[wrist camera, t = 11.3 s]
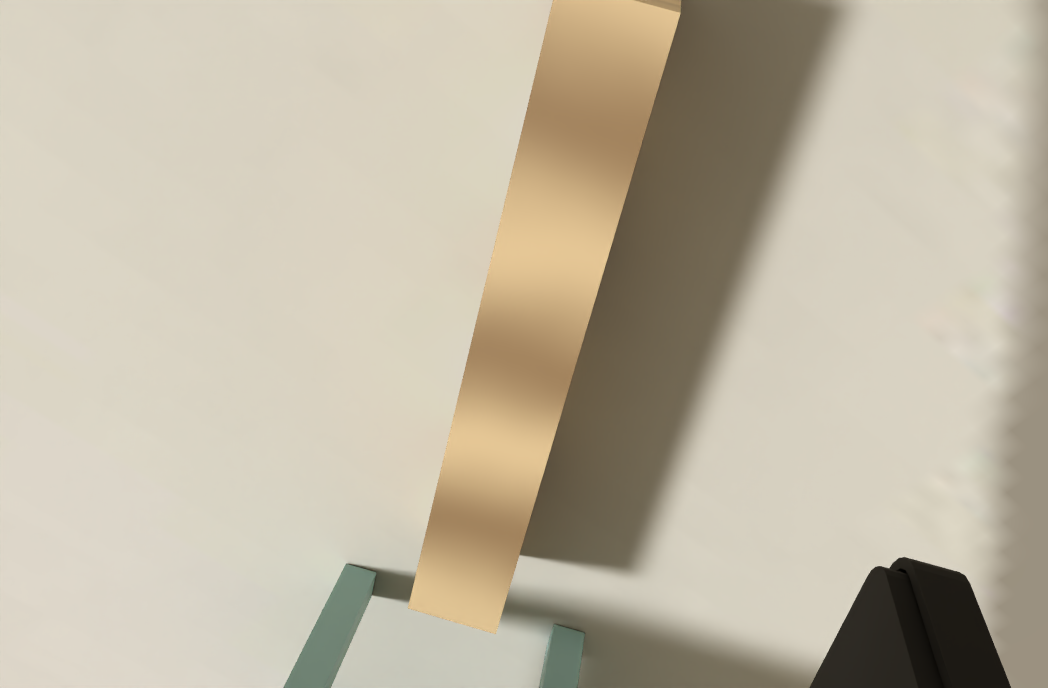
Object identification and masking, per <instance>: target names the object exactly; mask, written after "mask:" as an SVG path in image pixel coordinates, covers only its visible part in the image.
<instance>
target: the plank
mask: <svg viewBox="0 0 1048 688" xmlns="http://www.w3.org/2000/svg"><path fill="white" fill-rule="evenodd" d="M680 14H681V0H553V3H552V7H551V11H550V15H549V19H548V24H547V28H546V32H545V36H544V40H543V45H542V49H541V53H540V57H539V61H538V65H537V70H536V74H535V78H534V82H533V86H532V91H531V95H530V99H529V103H528V107H527V112H526V116H525V120H524V124H523V128H522V132H521V137H520V141H519V145H518V149H517V153H516V158H515V162H514V166H513V170H512V174H511V179H510V183H509V187H508V191H507V195H506V199H505V204H504V208H503V212H502V216H501V220H500V225H499V229H498V233H497V237H496V241H495V246H494V250H493V254H492V258H491V262H490V266H489V271H488V275H487V279H486V283H485V287H484V292H483V296H482V300H481V304H480V308H479V312H478V317H477V321H476V325H475V329H474V333H473V338H472V342H471V346H470V350H469V354H468V359H467V363H466V367H465V371H464V375H463V379H462V384H461V388H460V392H459V396H458V400H457V405H456V409H455V413H454V417H453V421H452V426H451V430H450V434H449V438H448V442H447V446H446V451H445V455H444V459H443V463H442V467H441V472H440V476H439V480H438V484H437V488H436V493H435V497H434V501H433V505H432V509H431V513H430V518H429V522H428V526H427V530H426V534H425V539H424V543H423V547H422V551H421V555H420V560H419V564H418V568H417V572H416V576H415V580H414V585H413V589H412V593H411V597H410V601H409V606H408V608H409V609H412V610H415V611H419V612H422V613H426V614H429V615H432V616H436V617H439V618H443V619H446V620H449V621H453V622H456V623H460V624H463V625H466V626H470V627H473V628H477V629H480V630H483V631H487V632H490V633H494V634H496V631H497V628H498V625H499V621H500V618H501V615H502V611H503V608H504V604H505V601H506V598H507V594H508V591H509V588H510V584H511V581H512V578H513V574H514V571H515V568H516V564H517V561H518V557H519V554H520V551H521V547H522V544H523V541H524V537H525V534H526V531H527V527H528V524H529V521H530V517H531V514H532V510H533V507H534V504H535V500H536V497H537V494H538V490H539V487H540V484H541V480H542V477H543V474H544V470H545V467H546V463H547V460H548V457H549V453H550V450H551V447H552V443H553V440H554V437H555V433H556V430H557V427H558V423H559V420H560V416H561V413H562V410H563V406H564V403H565V400H566V396H567V393H568V390H569V386H570V383H571V380H572V376H573V373H574V369H575V366H576V363H577V359H578V356H579V353H580V349H581V346H582V343H583V339H584V336H585V333H586V329H587V326H588V322H589V319H590V316H591V312H592V309H593V306H594V302H595V299H596V296H597V292H598V289H599V286H600V282H601V279H602V275H603V272H604V269H605V265H606V262H607V259H608V255H609V252H610V249H611V245H612V242H613V239H614V235H615V232H616V228H617V225H618V222H619V218H620V215H621V212H622V208H623V205H624V202H625V198H626V195H627V192H628V188H629V185H630V181H631V178H632V175H633V171H634V168H635V165H636V161H637V158H638V155H639V151H640V148H641V145H642V141H643V138H644V134H645V131H646V128H647V124H648V121H649V118H650V114H651V111H652V108H653V104H654V101H655V98H656V94H657V91H658V88H659V84H660V81H661V77H662V74H663V71H664V67H665V64H666V61H667V57H668V54H669V51H670V47H671V44H672V41H673V37H674V34H675V30H676V27H677V24H678V20H679V17H680Z"/></svg>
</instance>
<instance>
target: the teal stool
mask: <svg viewBox="0 0 1048 688" xmlns="http://www.w3.org/2000/svg"><path fill="white" fill-rule="evenodd" d="M375 577H376V572H373V571H370V570H366V569H363V568H359V567H356V566H353V565H349V564H346V565H345V567H344V569H343V571H342V573H341V575H340V577H339V579H338V581H337V583H336V585H335V587H334V589H333V591H332V593H331V595H330V597H329V599H328V601H327V603H326V605H325V607H324V609H323V610H322V612H321V614H320V616H319V618H318V620H317V622H316V624H315V626H314V628H313V630H312V632H311V634H310V636H309V638H308V640H307V642H306V644H305V646H304V648H303V650H302V652H301V654H300V656H299V658H298V660H297V662H296V664H295V666H294V668H293V670H292V672H291V674H290V676H289V678H288V680H287V682H286V684H285V686H284V688H331V686H332V683H333V681H334V679H335V677H336V674H337V672H338V670H339V668H340V666H341V663H342V661H343V659H344V657H345V654H346V652H347V650H348V648H349V645H350V643H351V641H352V639H353V636H354V634H355V632H356V630H357V627H358V625H359V623H360V621H361V618H362V616H363V614H364V612H365V610H366V607H367V605H368V603H369V601H370V598H371V596H372V591H373V586H374V582H375ZM584 636H585V633H583V632H580V631H576V630H573V629H569V628H566V627H562V626H559V625H556V624H554V626H553V629H552V632H551V635H550V639H549V642H548V645H547V648H546V653H545V659H544V664H543V670H542V675H541V680H540V686H539V688H577V686H578V679H579V672H580V665H581V658H582V650H583V643H584Z"/></svg>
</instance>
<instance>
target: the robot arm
mask: <svg viewBox="0 0 1048 688" xmlns="http://www.w3.org/2000/svg"><path fill="white" fill-rule="evenodd" d="M810 688H1011V686H1010V684H1009V681H1008V679H1007V676H1006V674H1005V671H1004V668H1003V666H1002V664H1001V661H1000V658H999V656H998V653H997V651H996V648H995V646H994V643H993V641H992V638H991V636H990V633H989V630H988V628H987V625H986V623H985V620H984V618H983V615H982V613H981V610H980V608H979V605H978V603H977V600H976V598H975V595H974V592H973V590H972V587H971V585H970V583H969V581H968V579H967V578H966V576H965V575H963V574H961V573H960V572H957V571H953V570H949V569H946V568H942V567H938V566H935V565H931V564H928V563H924V562H920V561H917V560H913V559H909V558H906V557H903V558H898V559H897V560H896V561H895V562H894V563H893V564H892V565H891V567H890V568H885V567H881V566H878V567H875V568H874V569H873V570H871V572H870V573H869V575H868V576H867V578H866V580H865V582H864V584H863V586H862V588H861V590H860V592H859V594H858V595H857V597H856V599H855V601H854V603H853V605H852V607H851V609H850V611H849V613H848V615H847V617H846V619H845V620H844V622H843V624H842V626H841V628H840V630H839V632H838V634H837V636H836V638H835V640H834V642H833V644H832V645H831V647H830V649H829V651H828V653H827V655H826V657H825V659H824V661H823V663H822V665H821V667H820V669H819V670H818V672H817V674H816V676H815V678H814V680H813V682H812V684H811V686H810Z"/></svg>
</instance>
